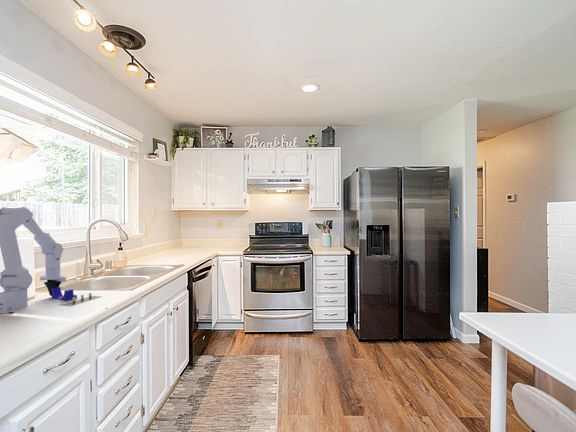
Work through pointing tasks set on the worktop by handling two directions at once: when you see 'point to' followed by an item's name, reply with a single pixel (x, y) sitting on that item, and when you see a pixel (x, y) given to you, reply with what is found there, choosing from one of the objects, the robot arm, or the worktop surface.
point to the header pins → (82, 297)
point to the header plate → (80, 301)
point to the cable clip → (58, 295)
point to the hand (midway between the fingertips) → (53, 295)
